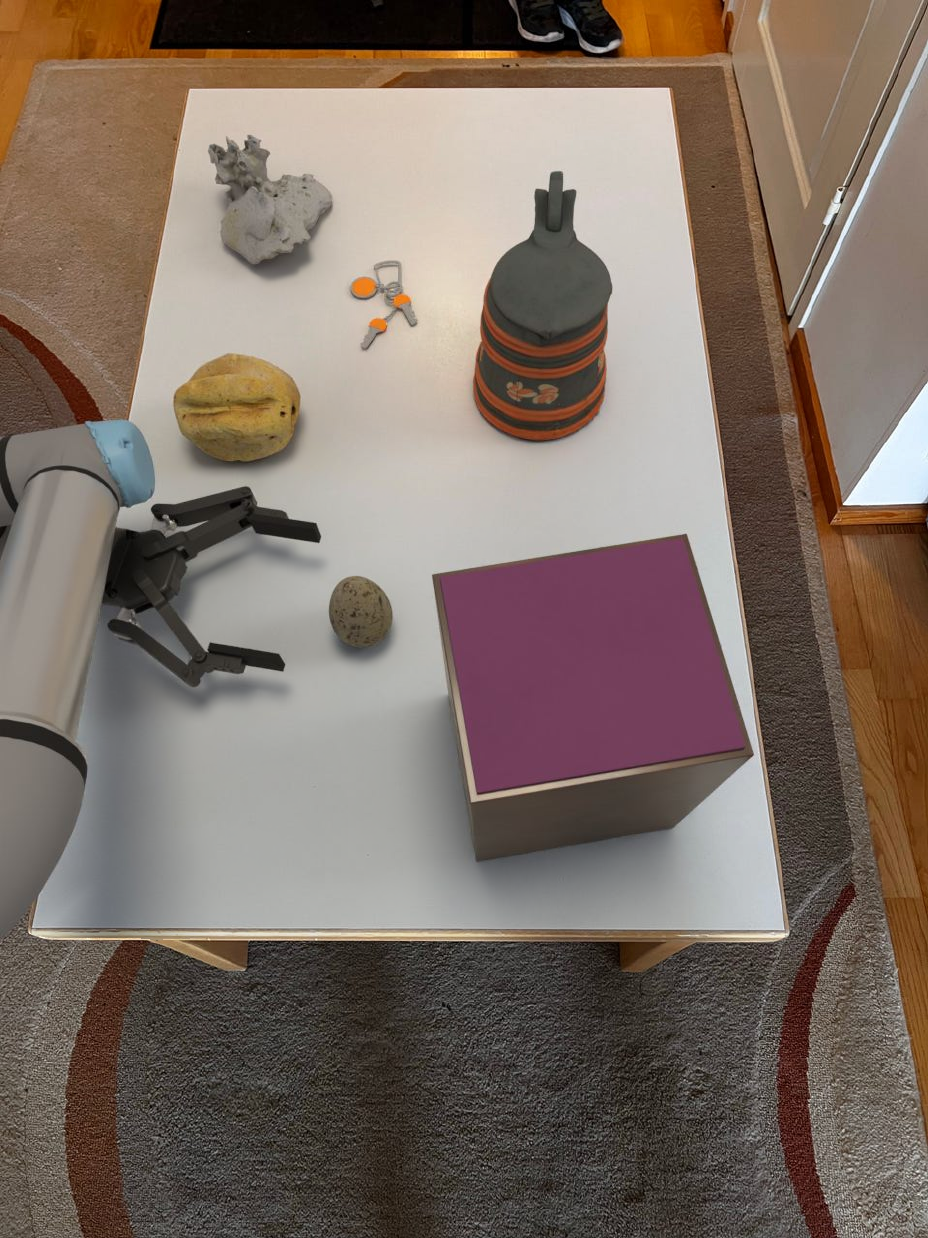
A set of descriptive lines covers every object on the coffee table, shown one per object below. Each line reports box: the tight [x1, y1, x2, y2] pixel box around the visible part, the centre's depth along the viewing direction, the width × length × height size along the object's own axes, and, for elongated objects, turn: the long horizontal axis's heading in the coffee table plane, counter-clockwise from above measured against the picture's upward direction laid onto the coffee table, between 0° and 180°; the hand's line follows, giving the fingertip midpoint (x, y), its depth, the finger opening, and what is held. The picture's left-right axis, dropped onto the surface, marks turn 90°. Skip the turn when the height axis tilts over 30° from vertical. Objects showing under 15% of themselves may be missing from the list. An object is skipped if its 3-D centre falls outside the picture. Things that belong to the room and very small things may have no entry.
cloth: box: [440, 538, 746, 794], centre depth 57 cm, size 17×15×1 cm
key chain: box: [349, 260, 418, 349], centre depth 103 cm, size 13×7×1 cm, turn 8°
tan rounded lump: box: [172, 352, 301, 463], centre depth 92 cm, size 13×10×10 cm
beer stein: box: [472, 170, 613, 442], centre depth 89 cm, size 19×15×20 cm
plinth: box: [431, 533, 755, 863], centre depth 69 cm, size 18×16×26 cm
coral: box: [207, 134, 333, 265], centre depth 104 cm, size 17×14×10 cm
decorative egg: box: [328, 575, 394, 648], centre depth 82 cm, size 6×6×10 cm
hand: (300, 596), depth 82 cm, fingers open, 13 cm apart
